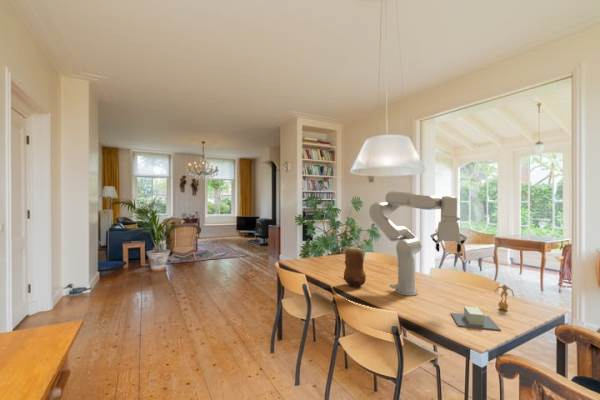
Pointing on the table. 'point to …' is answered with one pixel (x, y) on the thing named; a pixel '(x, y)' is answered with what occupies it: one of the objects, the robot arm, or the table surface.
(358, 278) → the brown tall rounded piece
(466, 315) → the card box
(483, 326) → the mat
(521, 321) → the table surface
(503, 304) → the figurine
